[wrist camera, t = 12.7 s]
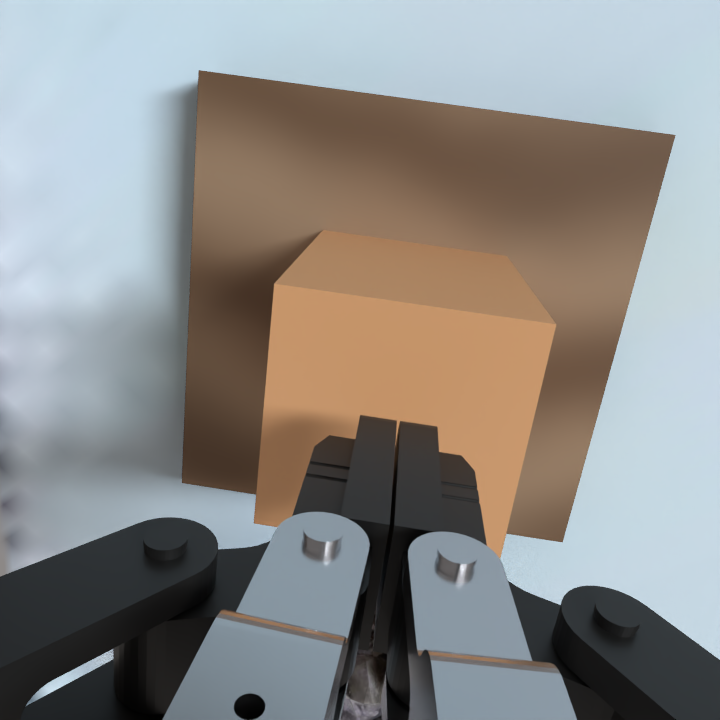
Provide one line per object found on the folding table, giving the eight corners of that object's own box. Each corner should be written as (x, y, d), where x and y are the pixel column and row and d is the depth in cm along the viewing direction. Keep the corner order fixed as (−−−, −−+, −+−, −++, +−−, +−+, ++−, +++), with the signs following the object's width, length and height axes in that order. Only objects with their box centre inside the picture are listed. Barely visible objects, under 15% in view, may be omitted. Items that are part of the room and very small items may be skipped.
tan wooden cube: (323, 230, 21) (274, 283, 13) (507, 255, 20) (556, 324, 13) (305, 398, 23) (253, 523, 15) (472, 423, 22) (499, 561, 15)
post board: (213, 74, 21) (109, 45, 14) (657, 134, 20) (786, 137, 13) (194, 463, 25) (110, 591, 18) (553, 518, 25) (608, 672, 18)
